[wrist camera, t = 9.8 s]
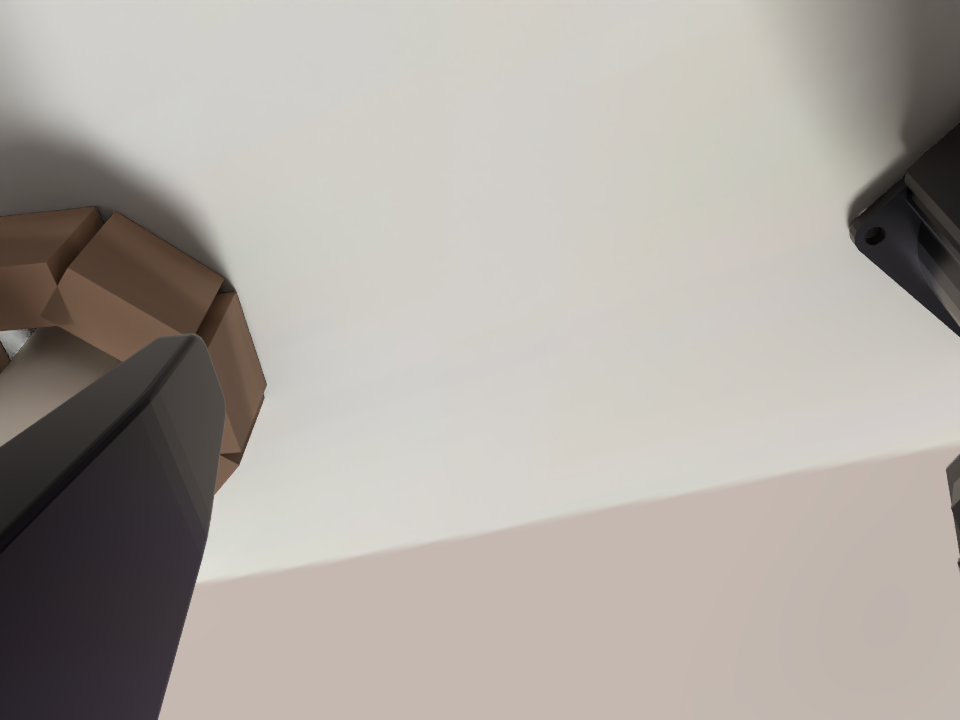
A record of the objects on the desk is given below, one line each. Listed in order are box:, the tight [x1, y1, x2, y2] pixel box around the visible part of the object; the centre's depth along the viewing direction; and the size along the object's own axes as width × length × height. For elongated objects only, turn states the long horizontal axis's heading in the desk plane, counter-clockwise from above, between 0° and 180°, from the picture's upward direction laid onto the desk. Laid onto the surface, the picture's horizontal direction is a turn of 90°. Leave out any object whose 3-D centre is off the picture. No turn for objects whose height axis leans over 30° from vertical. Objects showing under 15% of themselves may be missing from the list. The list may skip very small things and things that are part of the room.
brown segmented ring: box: [0, 206, 267, 495], centre depth 24 cm, size 9×9×3 cm
